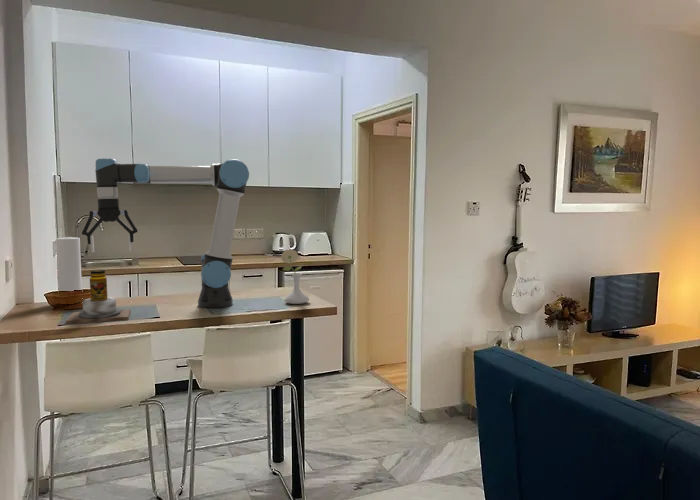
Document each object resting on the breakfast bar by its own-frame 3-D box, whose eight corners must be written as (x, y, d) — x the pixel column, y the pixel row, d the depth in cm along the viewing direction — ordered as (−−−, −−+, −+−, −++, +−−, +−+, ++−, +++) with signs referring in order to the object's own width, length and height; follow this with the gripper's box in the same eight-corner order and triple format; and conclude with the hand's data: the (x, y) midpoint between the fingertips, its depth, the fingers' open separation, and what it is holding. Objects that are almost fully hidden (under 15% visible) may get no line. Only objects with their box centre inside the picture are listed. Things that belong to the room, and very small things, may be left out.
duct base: (131, 311, 222) (130, 295, 221) (128, 319, 208) (127, 301, 207) (72, 315, 215) (71, 297, 214) (66, 323, 201) (65, 305, 200)
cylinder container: (72, 305, 234) (69, 238, 231) (54, 304, 236) (51, 237, 233) (87, 301, 244) (84, 236, 241) (69, 300, 246) (66, 236, 243)
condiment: (96, 302, 205) (95, 272, 204) (82, 300, 209) (81, 270, 208) (113, 299, 212) (111, 269, 210) (99, 297, 216) (98, 268, 214)
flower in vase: (311, 301, 247) (311, 248, 245) (306, 306, 236) (306, 250, 234) (283, 300, 249) (283, 247, 246) (278, 305, 237) (277, 250, 235)
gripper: (142, 197, 216) (145, 248, 219) (74, 198, 208) (78, 252, 210) (141, 197, 209) (144, 250, 212) (71, 198, 201) (75, 254, 203)
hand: (111, 251), depth 211 cm, fingers open, 13 cm apart
